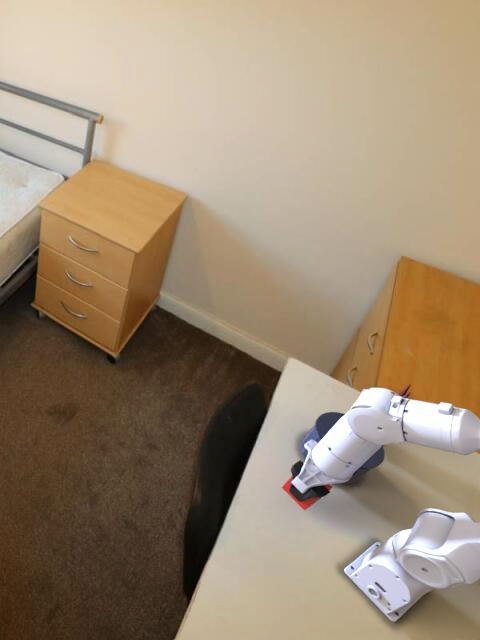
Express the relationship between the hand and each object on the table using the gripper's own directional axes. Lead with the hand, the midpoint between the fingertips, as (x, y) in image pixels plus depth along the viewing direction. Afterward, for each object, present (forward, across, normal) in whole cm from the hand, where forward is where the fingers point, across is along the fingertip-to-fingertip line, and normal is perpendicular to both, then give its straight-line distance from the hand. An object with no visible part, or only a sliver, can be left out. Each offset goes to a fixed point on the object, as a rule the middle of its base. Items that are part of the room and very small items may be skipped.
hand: (304, 489), depth 88 cm
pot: (+5, -14, -2) cm, 15 cm away
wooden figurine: (+5, -24, -2) cm, 25 cm away
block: (+1, 0, 0) cm, 1 cm away
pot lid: (-2, -14, -2) cm, 14 cm away
